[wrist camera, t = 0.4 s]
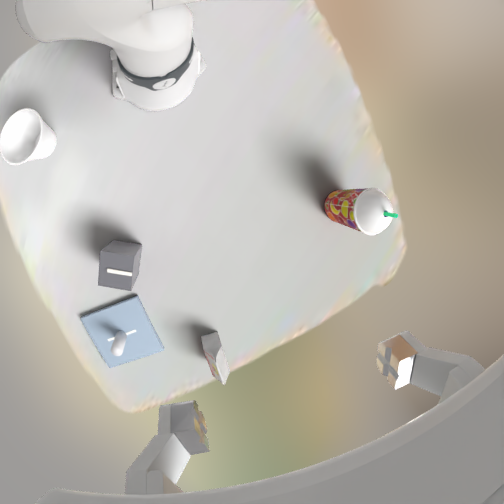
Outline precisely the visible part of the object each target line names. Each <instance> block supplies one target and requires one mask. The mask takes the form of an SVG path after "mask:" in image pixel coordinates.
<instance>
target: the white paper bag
mask: <svg viewBox="0 0 504 504" xmlns="http://www.w3.org/2000/svg"><path fill="white" fill-rule="evenodd" d="M201 339H202V344H203V350H204V353H205V356H206V358H207V361H208V364H209V367H210V369H211V372H212V375H213V376H214V377H215V378H216V379H218V380H219V381H220V382H221V383H222V384H223V383H224V384H225V383H226V379H227V377H228V375H229V373H230V369H229V366H228V363H227V360H226V357H225V354H224V350H223V347H222V344H221V341H220V338H219V335H218V332H214V333H211V334H207V335H203V336H201Z"/></svg>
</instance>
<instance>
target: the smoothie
mask: <svg viewBox="0 0 504 504" xmlns="http://www.w3.org/2000/svg"><path fill="white" fill-rule="evenodd" d="M324 208H325V212H326V214H327V216H328V217H329V218H330V219H331V220H332V221H335V222H337V223H340V224H343V225H345V226H348V227H350V228H353V229H356V230H358V231H361V232H363V233H365V234H367V235H376V234H378V233H380V232H381V231H383V230H385V229H386V228H387V227H388V226H389V224H390V223H391V221H392V217H394V218H397V217H398V214H395V213H393V207H392V204H391V202H390V200H389V199H388V197H387V196H386V195H385V194H384V192H383V191H381V190H379V189H377V188H369V189H349V190H336V191H333V192H332V193H330V194H329V195H328V197H327V198H326V200H325V204H324Z"/></svg>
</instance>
